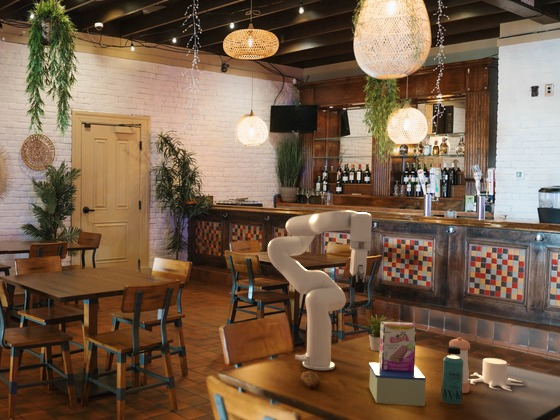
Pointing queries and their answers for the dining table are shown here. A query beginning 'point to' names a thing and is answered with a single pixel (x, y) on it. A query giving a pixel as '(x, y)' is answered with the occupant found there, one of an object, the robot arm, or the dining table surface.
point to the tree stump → (495, 374)
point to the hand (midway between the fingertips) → (357, 290)
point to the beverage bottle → (452, 377)
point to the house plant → (376, 332)
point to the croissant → (310, 379)
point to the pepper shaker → (464, 349)
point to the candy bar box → (397, 346)
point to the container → (397, 390)
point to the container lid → (396, 373)
